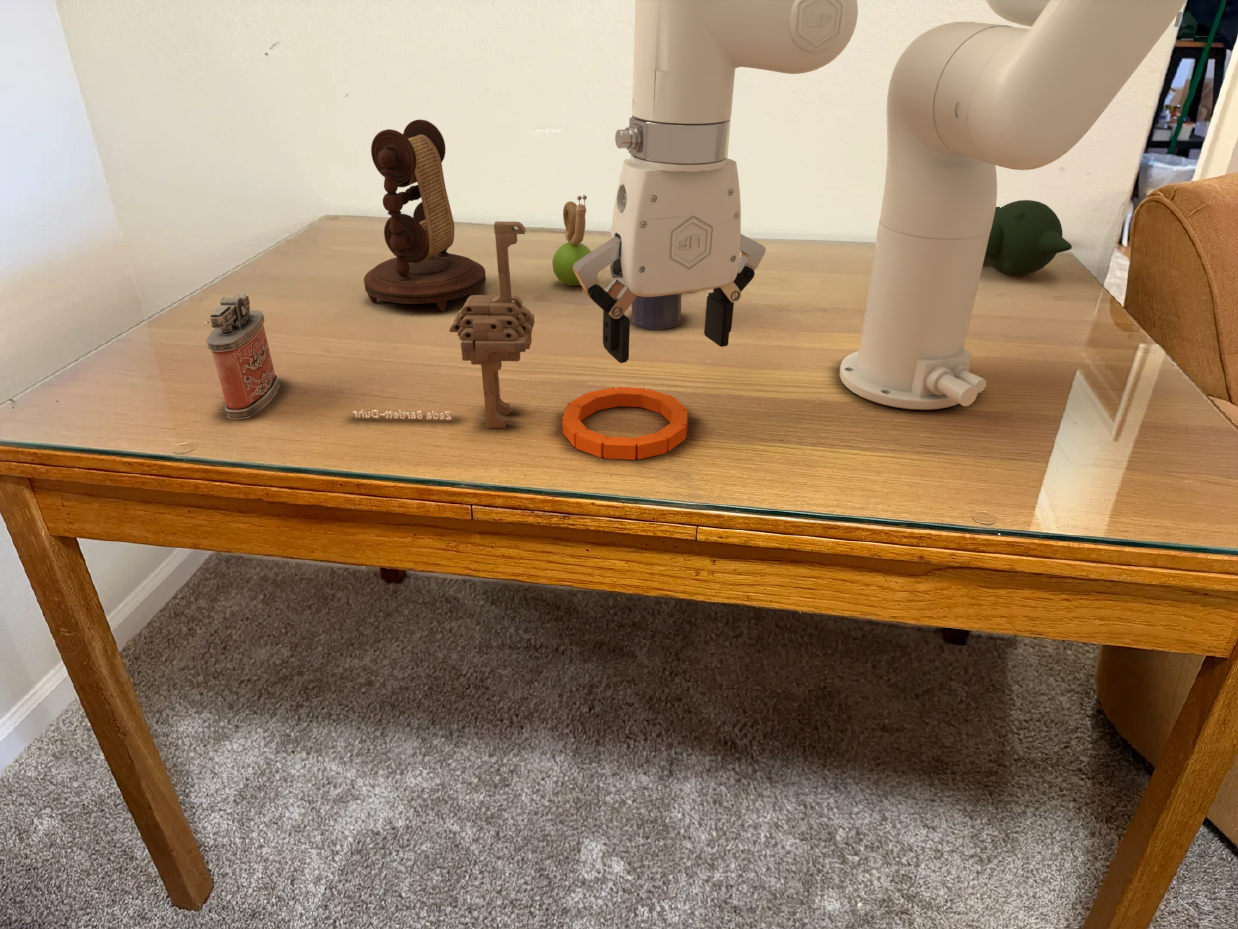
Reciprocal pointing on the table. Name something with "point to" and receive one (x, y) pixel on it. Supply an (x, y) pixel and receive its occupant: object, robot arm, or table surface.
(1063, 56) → the robot arm
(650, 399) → the ring
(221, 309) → the lighter
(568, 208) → the snail figurine
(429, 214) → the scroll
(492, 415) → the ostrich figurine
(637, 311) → the cup
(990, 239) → the toy figurine
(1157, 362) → the table surface
